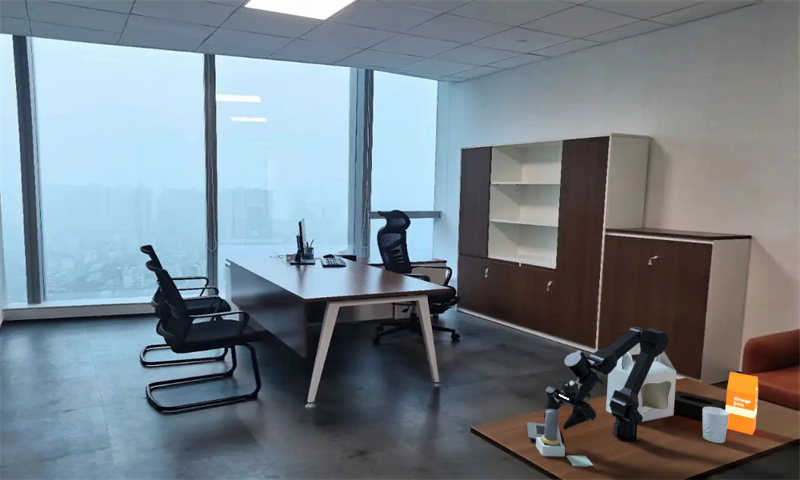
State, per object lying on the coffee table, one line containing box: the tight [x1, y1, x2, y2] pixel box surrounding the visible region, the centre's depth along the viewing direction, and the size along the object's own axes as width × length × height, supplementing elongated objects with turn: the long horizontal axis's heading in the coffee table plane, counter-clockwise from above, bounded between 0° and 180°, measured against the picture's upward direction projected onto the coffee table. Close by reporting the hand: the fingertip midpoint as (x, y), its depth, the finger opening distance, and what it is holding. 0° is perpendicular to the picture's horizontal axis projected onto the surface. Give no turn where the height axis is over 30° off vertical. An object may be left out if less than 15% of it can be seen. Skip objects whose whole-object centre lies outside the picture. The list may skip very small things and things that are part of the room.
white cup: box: [702, 406, 729, 444], centre depth 188 cm, size 8×8×10 cm
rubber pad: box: [566, 455, 594, 467], centre depth 168 cm, size 6×6×1 cm
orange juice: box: [725, 371, 759, 436], centre depth 199 cm, size 8×9×20 cm
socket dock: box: [535, 437, 566, 457], centre depth 174 cm, size 7×7×3 cm
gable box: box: [605, 343, 677, 423], centre depth 210 cm, size 22×13×28 cm, turn 116°
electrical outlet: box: [526, 422, 562, 442], centre depth 186 cm, size 13×10×2 cm
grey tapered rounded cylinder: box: [541, 408, 560, 446], centre depth 174 cm, size 6×6×13 cm
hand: (554, 423), depth 174 cm, fingers open, 9 cm apart
